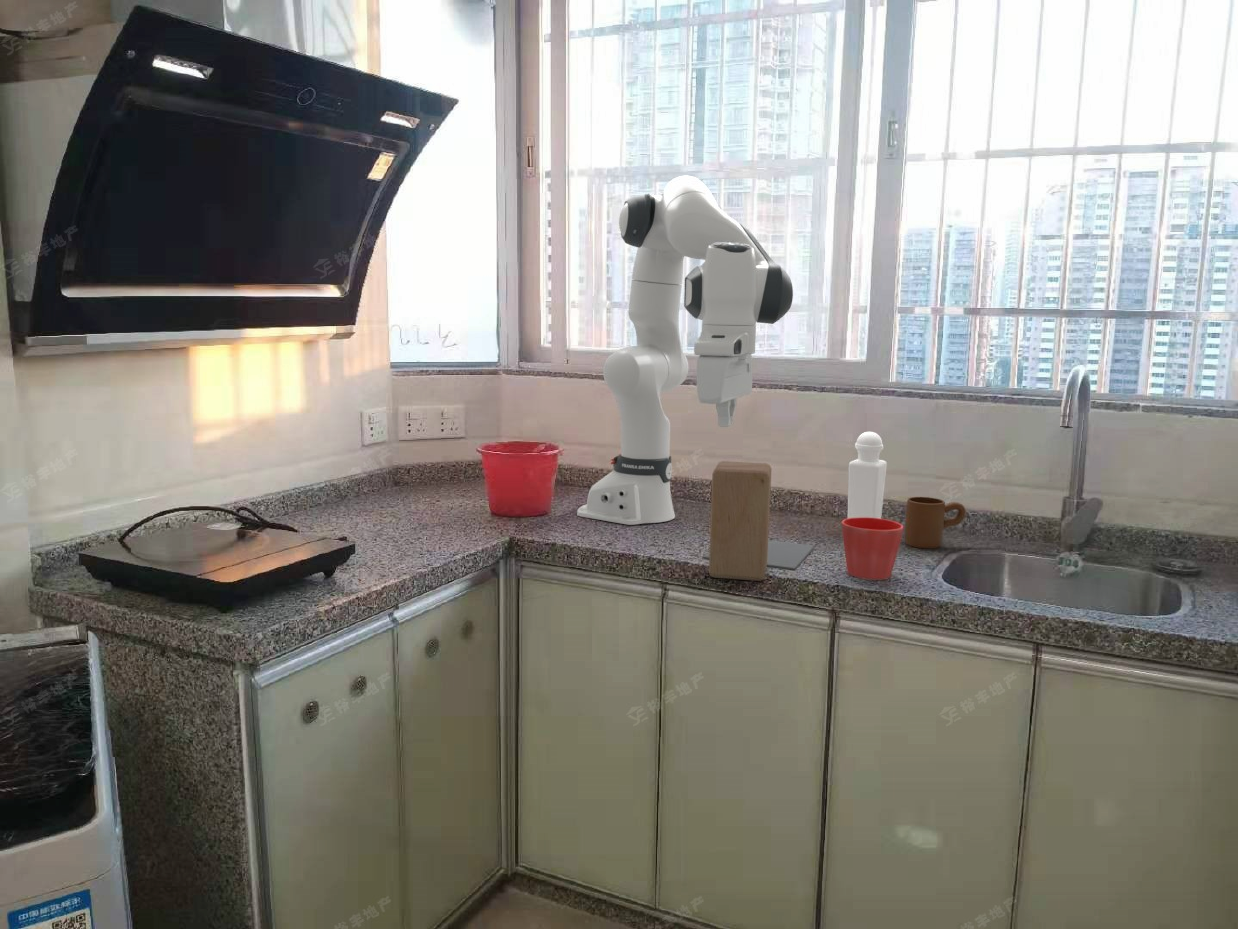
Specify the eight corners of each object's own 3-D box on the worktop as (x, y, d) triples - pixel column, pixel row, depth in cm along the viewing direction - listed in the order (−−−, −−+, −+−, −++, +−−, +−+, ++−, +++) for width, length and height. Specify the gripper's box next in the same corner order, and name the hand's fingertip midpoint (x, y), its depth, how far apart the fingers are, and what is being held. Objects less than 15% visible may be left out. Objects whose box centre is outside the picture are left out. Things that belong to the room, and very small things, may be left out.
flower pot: (854, 562, 182) (857, 513, 181) (909, 574, 175) (913, 523, 174) (828, 574, 174) (831, 523, 172) (884, 587, 167) (888, 533, 166)
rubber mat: (702, 558, 183) (702, 556, 183) (728, 537, 200) (729, 535, 200) (794, 570, 177) (794, 568, 177) (814, 547, 193) (814, 545, 193)
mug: (957, 541, 200) (960, 497, 199) (968, 550, 193) (972, 505, 191) (899, 539, 201) (902, 495, 199) (908, 548, 193) (912, 503, 192)
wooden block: (764, 583, 168) (769, 472, 165) (708, 578, 170) (711, 469, 167) (767, 567, 178) (771, 462, 174) (713, 563, 180) (717, 459, 176)
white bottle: (873, 536, 203) (880, 434, 199) (844, 532, 206) (850, 431, 202) (882, 530, 208) (889, 431, 204) (853, 526, 211) (859, 428, 208)
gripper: (727, 339, 166) (725, 418, 169) (690, 344, 148) (688, 432, 150) (762, 340, 164) (759, 420, 166) (729, 345, 145) (726, 434, 148)
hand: (725, 426), depth 158 cm, fingers closed
